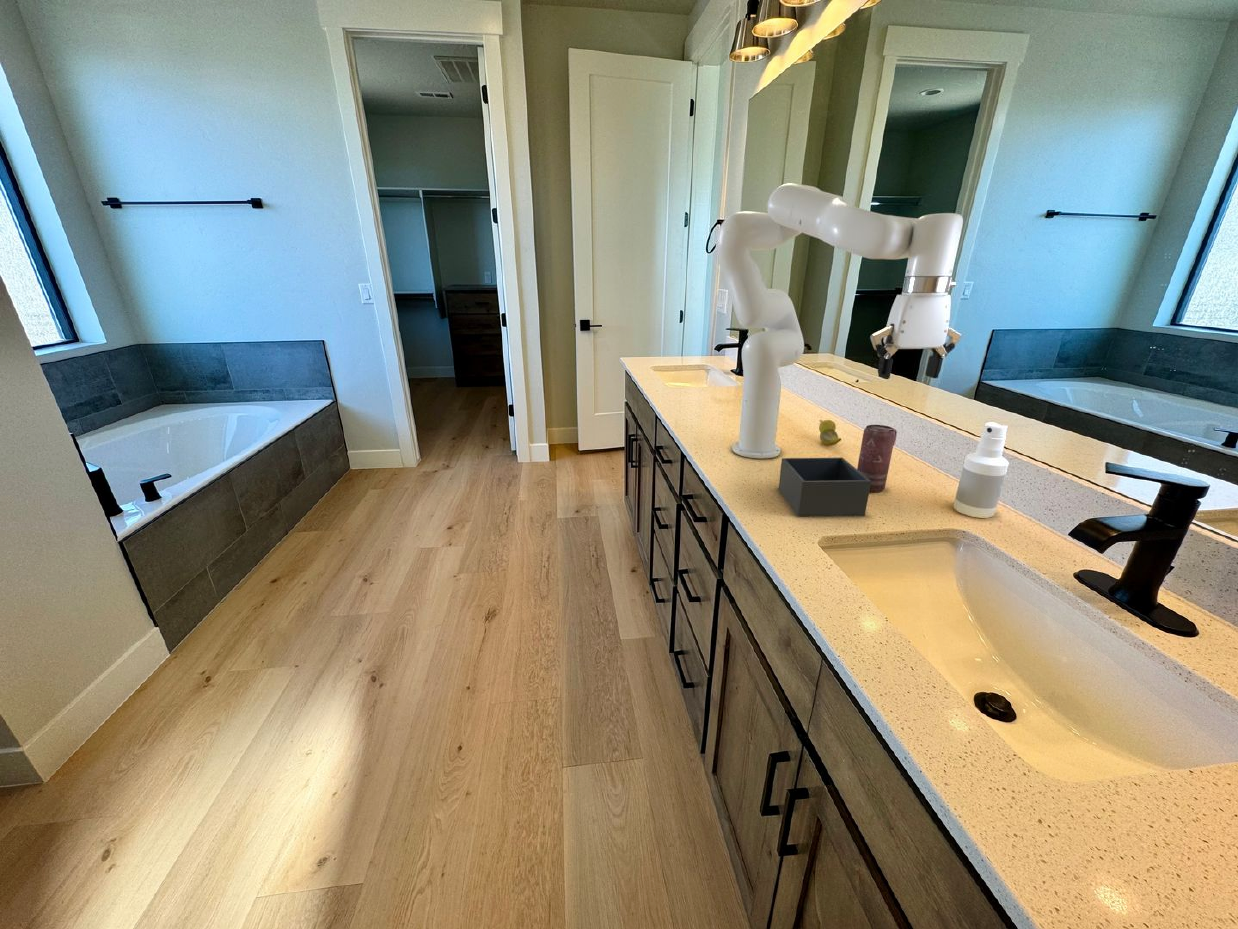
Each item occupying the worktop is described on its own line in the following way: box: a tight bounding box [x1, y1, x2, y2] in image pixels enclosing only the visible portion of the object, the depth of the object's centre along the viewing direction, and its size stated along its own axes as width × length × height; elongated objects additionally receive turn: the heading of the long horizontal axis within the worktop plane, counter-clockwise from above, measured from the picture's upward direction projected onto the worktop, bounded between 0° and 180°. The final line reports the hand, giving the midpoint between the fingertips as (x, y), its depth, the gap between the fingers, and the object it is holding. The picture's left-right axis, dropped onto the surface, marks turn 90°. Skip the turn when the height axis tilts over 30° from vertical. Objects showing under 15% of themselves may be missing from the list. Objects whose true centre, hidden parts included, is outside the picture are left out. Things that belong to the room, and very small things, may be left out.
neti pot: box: [818, 419, 842, 446], centre depth 137 cm, size 4×15×6 cm, turn 0°
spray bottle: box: [952, 421, 1010, 519], centre depth 95 cm, size 7×7×18 cm
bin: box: [778, 456, 871, 518], centre depth 102 cm, size 13×13×8 cm
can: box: [856, 424, 898, 494], centre depth 107 cm, size 6×6×14 cm
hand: (907, 377), depth 99 cm, fingers open, 9 cm apart
